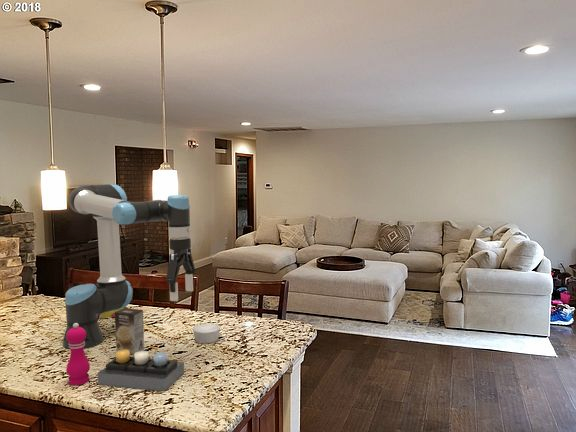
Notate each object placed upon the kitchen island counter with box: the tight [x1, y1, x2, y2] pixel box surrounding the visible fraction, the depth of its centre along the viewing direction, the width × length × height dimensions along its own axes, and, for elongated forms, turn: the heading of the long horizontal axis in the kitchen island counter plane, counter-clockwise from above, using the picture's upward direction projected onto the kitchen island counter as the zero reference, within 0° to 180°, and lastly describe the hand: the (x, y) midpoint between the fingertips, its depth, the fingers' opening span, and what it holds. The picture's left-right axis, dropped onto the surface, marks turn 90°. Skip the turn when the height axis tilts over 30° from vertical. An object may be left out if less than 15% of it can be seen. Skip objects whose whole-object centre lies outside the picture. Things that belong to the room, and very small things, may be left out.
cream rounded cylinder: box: [133, 350, 149, 366], centre depth 156 cm, size 4×4×7 cm
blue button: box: [152, 352, 168, 368], centre depth 155 cm, size 4×4×7 cm
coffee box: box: [114, 307, 145, 355], centre depth 182 cm, size 9×6×16 cm
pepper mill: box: [65, 323, 91, 386], centre depth 155 cm, size 7×7×20 cm
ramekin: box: [192, 322, 221, 344], centre depth 193 cm, size 11×11×5 cm
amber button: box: [115, 349, 131, 365], centre depth 158 cm, size 4×4×7 cm
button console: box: [97, 356, 185, 392], centre depth 157 cm, size 24×14×6 cm, turn 77°
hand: (182, 295), depth 169 cm, fingers open, 13 cm apart
